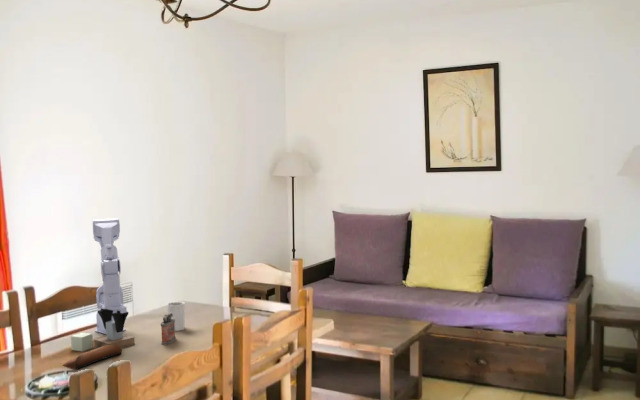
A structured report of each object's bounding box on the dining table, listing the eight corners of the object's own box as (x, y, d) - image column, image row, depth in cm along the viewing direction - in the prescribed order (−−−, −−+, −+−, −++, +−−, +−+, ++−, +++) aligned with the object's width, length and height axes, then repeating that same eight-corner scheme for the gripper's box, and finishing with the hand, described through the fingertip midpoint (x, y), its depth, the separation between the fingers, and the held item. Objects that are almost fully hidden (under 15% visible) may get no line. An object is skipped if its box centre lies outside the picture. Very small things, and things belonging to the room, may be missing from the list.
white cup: (183, 330, 239) (182, 305, 239) (166, 331, 240) (165, 305, 239) (187, 326, 246) (186, 301, 245) (170, 326, 246) (169, 301, 246)
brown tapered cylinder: (105, 350, 215) (111, 335, 213) (117, 363, 213) (123, 348, 210) (60, 366, 200) (66, 350, 198) (72, 380, 197) (79, 363, 195)
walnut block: (94, 347, 222) (93, 339, 222) (119, 341, 230) (118, 333, 230) (109, 352, 216) (109, 343, 215) (134, 345, 223) (134, 337, 223)
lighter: (168, 344, 221) (167, 317, 220) (159, 344, 222) (158, 317, 221) (177, 338, 229) (176, 311, 228) (169, 338, 229) (168, 311, 229)
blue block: (106, 338, 222) (105, 322, 222) (116, 335, 226) (115, 319, 225) (113, 340, 220) (112, 323, 220) (122, 337, 223) (121, 321, 223)
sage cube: (71, 350, 218) (71, 336, 218) (82, 346, 223) (81, 332, 223) (82, 351, 216) (81, 337, 216) (93, 347, 221) (92, 333, 220)
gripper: (90, 292, 223) (92, 329, 224) (113, 297, 214) (115, 335, 215) (108, 289, 229) (110, 325, 229) (131, 293, 219) (132, 331, 220)
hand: (113, 330), depth 222 cm, fingers open, 7 cm apart
